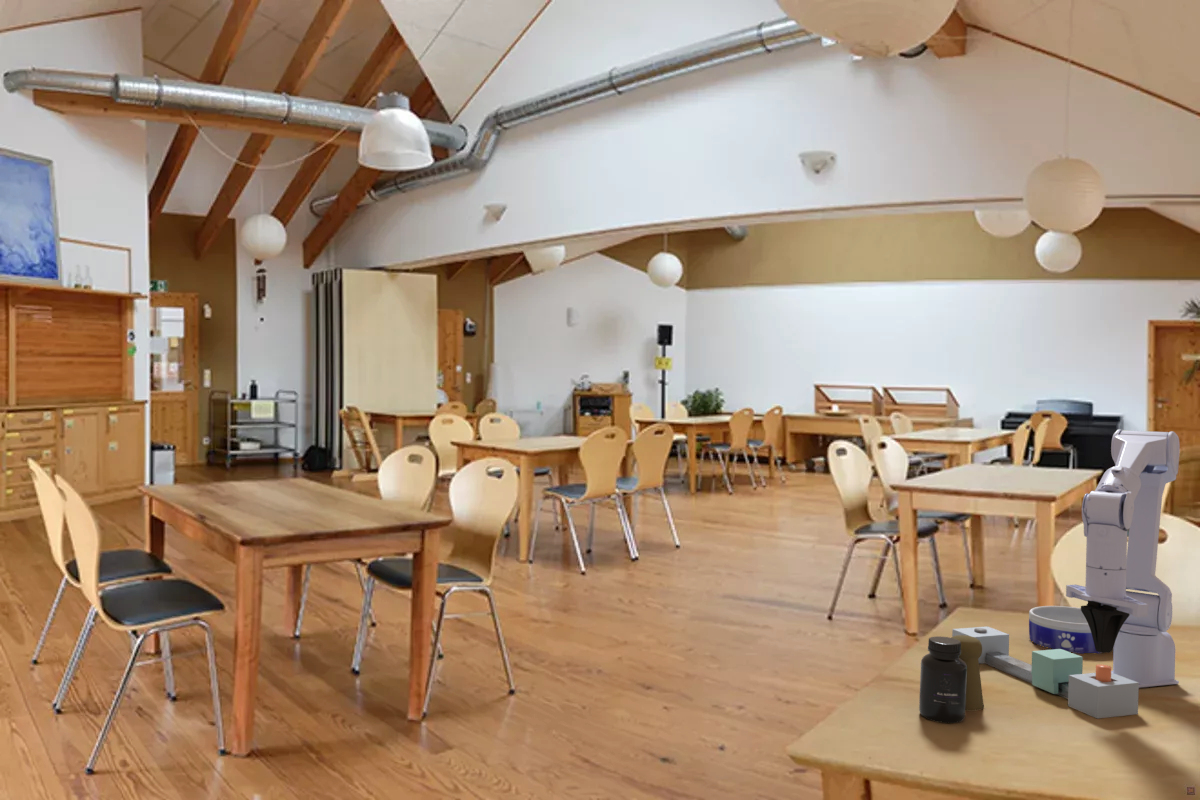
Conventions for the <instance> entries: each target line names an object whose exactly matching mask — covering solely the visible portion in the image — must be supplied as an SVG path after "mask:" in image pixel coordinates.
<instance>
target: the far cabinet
mask: <svg viewBox="0 0 1200 800" xmlns="http://www.w3.org/2000/svg"><path fill="white" fill-rule="evenodd" d="M951 630H952V631H951V632H952V634H951V637H953V636H956V635H966V636H971V637H975V638H977V639H978V640H980V642H981V644H982V654H981V656H980V657H979V659H978V661H979V664H986V653H994V652H1001V653H1003V654H1006V655H1008V656H1010V653H1009V652H1010V648H1009V647H1010V634H1009V633H1006V632H1003V631H1001V630H998V629H996V628H993V627H991V626H987V625H986V626H977V627H960V628H952V629H951Z"/></svg>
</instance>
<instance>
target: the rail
mask: <svg viewBox="0 0 1200 800" xmlns="http://www.w3.org/2000/svg"><path fill="white" fill-rule="evenodd" d="M985 664H986V665H987V664H988V666H989V667H992V668H994V667H995V669H996V670H999V671H1002V672H1004V673H1006V674H1008V675H1011V676H1013V677H1016V678H1017V679H1020V680H1023V681H1024V682H1027V683H1029V684H1032V674H1031V670H1032V664H1030V663H1028V662H1025V661H1023V660H1020V659H1018V658H1015V657H1013V656H1010V655H1009V656H1008V655H1006V654H1003V653H1001V652H994V653H986V663H985ZM1068 684H1069V682H1062V683H1058V694H1056V695H1058V696H1060V697H1062V698H1065V699H1066V700H1068Z"/></svg>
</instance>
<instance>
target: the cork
mask: <svg viewBox="0 0 1200 800" xmlns="http://www.w3.org/2000/svg"><path fill="white" fill-rule="evenodd" d="M950 638H954V639H957V640H959V641H960V642H961V655H959V657H960V658H962V659H963V660H964V661H965V663H966V665H967V685H966V710H965V711H968V712H969V711H970V712H972V711H981V710H983V709H984V708H985V707H984V698H983V689H982V688H983V687H982V681H981V680H982V679H981V672H980V671H981V670H980V663H979V661H978V659H979V657H980V656H981V654H982V644H981V642H980V640H978V639H977V638H975V637H971V636H966V635H956V636H953V637H952V636H951V637H950Z"/></svg>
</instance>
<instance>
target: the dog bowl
mask: <svg viewBox="0 0 1200 800" xmlns="http://www.w3.org/2000/svg"><path fill="white" fill-rule="evenodd" d="M1028 631H1029V632H1028V636H1029V640H1031V642H1032V641H1033V642H1034V643H1033V642H1032V643H1033V644H1035V643H1036V644H1035V645H1037V644H1038V645H1037V646H1039V645H1041V646H1040V647H1042V646H1044V647H1043V648H1045V647H1048V648H1047V649H1049V648H1052V649H1051V650H1053V649H1062V650H1065V651H1068V652H1073V654H1084V653H1097V654H1102V653H1101V652H1098V651H1096V649H1095V645H1094V641H1093V637H1092V633H1091V630H1090V627H1089V625H1088V622H1087V620H1086V618H1085V616H1084V615H1083V613H1082V611H1081V607H1078V606H1077V607H1075V606H1064V605H1043V606H1036V607H1033V608H1031V609H1029V611H1028Z"/></svg>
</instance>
